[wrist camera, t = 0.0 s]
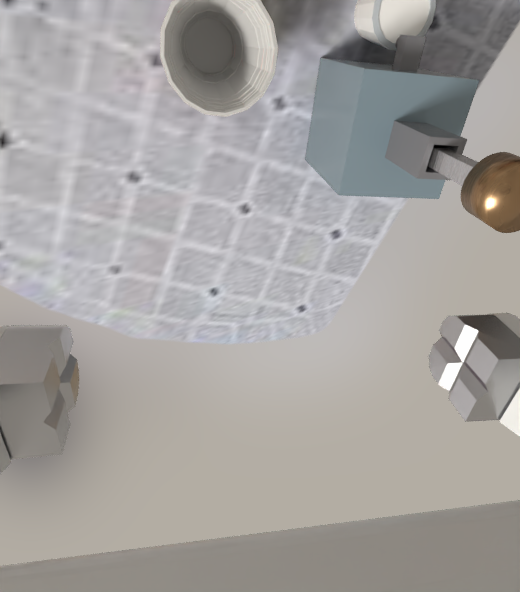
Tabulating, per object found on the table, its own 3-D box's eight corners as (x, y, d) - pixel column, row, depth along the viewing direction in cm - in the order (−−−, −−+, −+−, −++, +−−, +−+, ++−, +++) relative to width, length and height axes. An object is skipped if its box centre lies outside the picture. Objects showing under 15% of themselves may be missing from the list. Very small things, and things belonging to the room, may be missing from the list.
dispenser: (325, 27, 48) (409, 31, 30) (419, 38, 50) (547, 48, 33) (305, 159, 56) (362, 221, 38) (386, 163, 58) (475, 223, 41)
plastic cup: (260, 95, 50) (281, 113, 41) (171, 102, 49) (170, 122, 39) (256, -16, 44) (278, -27, 34) (154, -11, 43) (147, -21, 33)
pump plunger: (421, 127, 35) (505, 163, 26) (471, 130, 36) (568, 166, 27) (405, 182, 38) (476, 232, 29) (452, 184, 39) (535, 233, 30)
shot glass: (417, 5, 48) (449, 3, 42) (376, 60, 50) (402, 65, 45) (378, -41, 45) (407, -50, 39) (336, 20, 47) (358, 20, 42)
